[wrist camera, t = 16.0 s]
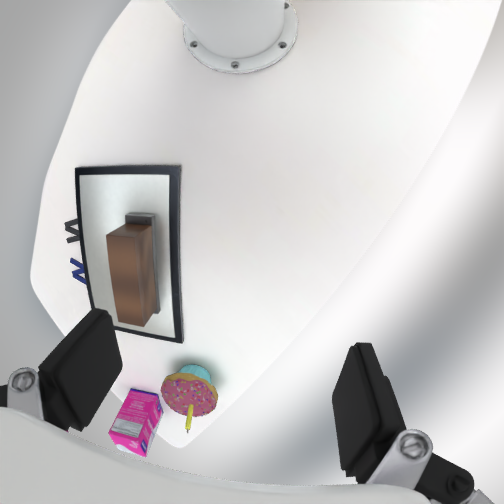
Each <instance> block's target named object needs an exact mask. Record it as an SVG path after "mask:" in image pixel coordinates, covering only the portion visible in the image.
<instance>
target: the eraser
mask: <svg viewBox="0 0 504 504" xmlns="http://www.w3.org/2000/svg"><path fill="white" fill-rule="evenodd" d="M106 243H107V252H108V261H109V269H110V276H111V283H112V290H113V296H114V302H115V308H116V313H117V318H118V322H121V323H126V324H130V325H135V326H140V327H144V326H145V325H146V323H147V322H148V321H149V319H150V318H151V316H152V315H153V314H159V312H160V301H159V289H158V276H157V260H156V240H155V215H148V214H132V213H128V214H126V215H125V224H124V225H122V226H120V227H118V228H117V229H115V230H113V231H112V232H110V233H108V234H107V235H106Z"/></svg>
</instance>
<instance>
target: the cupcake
mask: <svg viewBox="0 0 504 504" xmlns="http://www.w3.org/2000/svg"><path fill="white" fill-rule="evenodd" d="M161 392H162V397H163V398H164V401H165V402H166V404H168V406H169V407H170V408H171V409H173V410H174V411H175V412H178V413H179V414H182V415H185V416H187V420H186V426H185V429H186V430H187V433H188V430H190V426H191V420H192V416H195V417H197V416H203V415H207V414H209V413H210V412H211V411H213V410H214V409H215V407H216V403H217V400H218V394H217V392H216V389H215V387H214V386H213V385H212V384H211V377H210V374H209V372H208V371H207V370H206V369H204V368H203V367H201V366H198V365H193V364H191V365H186V366H184V367H183V368H182V369H181V370H180V371H179V372H178V373H174V374H172V375H169V376H167V377H166V378H165V380H164V382H163V383H162V387H161Z"/></svg>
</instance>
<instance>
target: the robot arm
mask: <svg viewBox="0 0 504 504" xmlns="http://www.w3.org/2000/svg"><path fill="white" fill-rule="evenodd" d="M165 1H166V2H167V4H168V5H169V6H170V7H171V8H172V9H173V10H174V11H175V13H176V14H177V15H178V16H179V17H180V18H181V20H182V21H183V22H184V31H183V35H184V40H185V43H186V45H187V47H188V49H189V51H190V52H191V53H192V55H193V56H194V57H195V58H196V59H197V60H198V61H199V62H201V63H202V64H204V65H205V66H207V67H209V68H212V69H214V70H216V71H221V72H225V73H237V74H239V73H250V72H254V71H258V70H261V69H264V68H266V67H268V66H271V65H272V64H274V63H276V62H277V61H279V60H280V59H281V58H282V57H283V56H284V55H286V54H287V53H288V51H289V50H290V48H291V47H292V46H293V44H294V41H295V39H296V36H297V31H298V19H297V14H296V12H295V10H294V7H293V6H292V4H291V3H290V2H289V1H288V0H165ZM284 8H286V9H284ZM195 45H197V46H196V47H194V46H195ZM281 46H284V47H285V48H283V49H282V48H280V47H281ZM235 65H238V68H234V66H235ZM122 366H123V364H122V359H121V355H120V351H119V347H118V343H117V339H116V334H115V330H114V325H113V320H112V316H111V315H110V314H109V312H108V311H107V310H104V309H99V308H93V309H92V310H91V311H90V312H89V313H88V314H87V315H86V316H85V317H84V318H83V319H82V320H81V321H80V322H79V323H78V324H77V325H76V326H75V327H74V328H73V329H72V330H71V332H70V333H69V334H68V335H67V336H66V337H65V338H64V339H63V340H62V341H61V342H60V343H59V344H58V345H57V347H56V348H55V349H54V350H53V351H52V352H51V353H50V355H48V357H47V358H46V359H45V360H44V361H43V363H42V364H40V366H39V367H38V368H39V372H38V373H37V372H36V371H35V370H34V369H32V368H28V367H27V368H20V369H18V370H16V371H14V372H13V373H12V374H11V376H10V377H9V380H8V384H7V385H3V386H0V504H494V503H493V502H492V501H491V500H490V499H489V498H488V497H487V496H486V495H484V494H483V493H482V492H481V491H480V490H479V489H478V490H477V491H475V490H474V480H473V477H472V475H471V474H470V473H469V472H468V471H466V470H465V469H462V468H461V467H459V466H457V465H455V464H453V463H451V462H449V461H447V460H445V459H443V458H442V457H440V456H438V455H436V454H434V453H432V450H433V444H432V441H431V440H430V438H429V437H428V435H427V434H425V433H424V432H422V431H420V430H415V429H410V430H407V429H406V426H405V423H404V420H403V417H402V414H401V411H400V408H399V406H398V403H397V400H396V397H395V394H394V392H393V389H392V386H391V383H390V381H389V379H388V377H387V376H384V375H383V372H382V370H381V367H380V364H379V362H378V359H377V357H376V354H375V351H374V349H373V346H372V344H371V343H356V344H355V345H354V346H351V347H350V348H349V351H348V354H347V357H346V360H345V363H344V365H343V368H342V371H341V373H340V376H339V379H338V381H337V384H336V386H335V389H334V392H333V395H332V404H333V410H334V417H335V424H336V432H337V439H338V447H339V455H340V464H341V469H342V470H345V471H346V477H353V476H356V481H357V482H358V484H352V485H321V486H301V485H300V486H298V485H271V484H258V483H248V482H239V481H231V480H224V479H218V478H211V477H205V476H200V475H195V474H190V473H186V472H181V471H177V470H173V469H169V468H165V467H161V466H157V465H154V464H151V463H147V462H144V461H141V460H137V459H134V458H131V457H128V456H125V455H122V454H119V453H117V452H114V451H111V450H109V449H106V448H103V447H101V446H98V445H96V444H93V443H91V442H89V441H86V440H84V439H82V438H80V437H77V436H75V435H73V434H71V433H69V432H68V429H69V427H70V426H71V427H72V428H74V429H76V430H78V431H80V432H81V431H82V430H83V428H84V427H87V426H88V425H89V424H90V422H91V420H92V418H93V417H94V415H95V413H96V411H97V410H98V408H99V407H100V405H101V403H102V401H103V400H104V398H105V396H106V395H107V393H108V391H109V390H110V388H111V387H112V385H113V383H114V382H115V380H116V378H117V377H118V375H119V374H120V372H121V370H122Z"/></svg>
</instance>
